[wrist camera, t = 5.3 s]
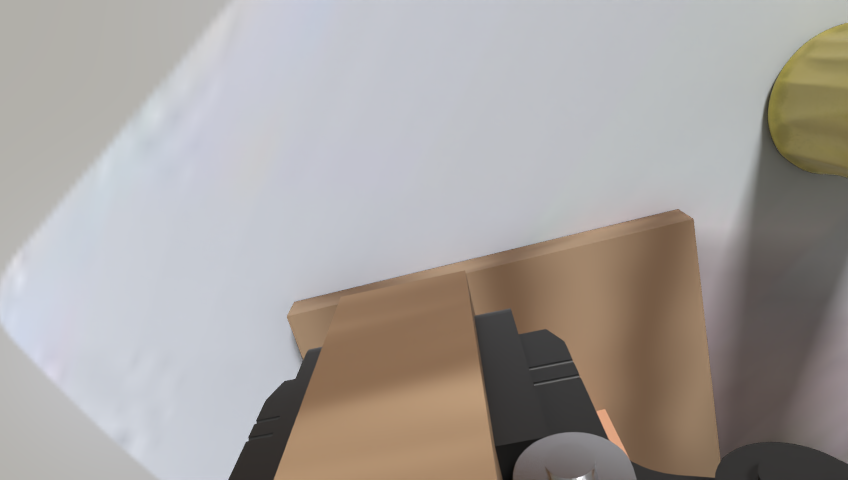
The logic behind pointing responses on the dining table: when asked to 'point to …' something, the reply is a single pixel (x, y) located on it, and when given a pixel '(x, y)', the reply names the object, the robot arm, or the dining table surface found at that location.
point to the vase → (814, 105)
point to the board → (601, 327)
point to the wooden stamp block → (397, 391)
